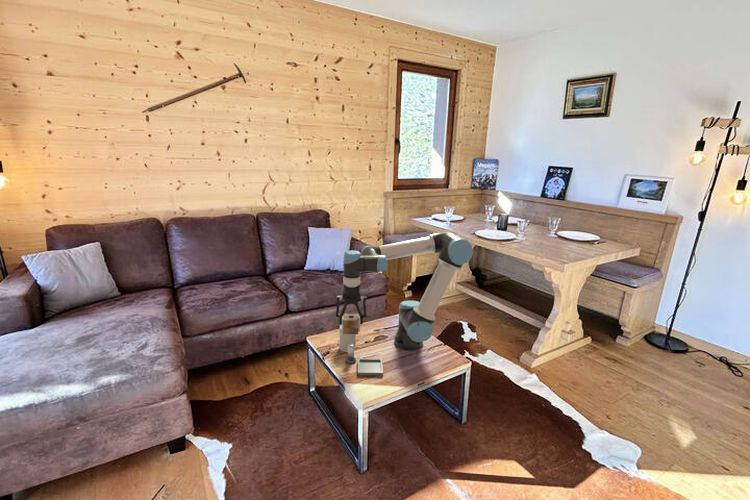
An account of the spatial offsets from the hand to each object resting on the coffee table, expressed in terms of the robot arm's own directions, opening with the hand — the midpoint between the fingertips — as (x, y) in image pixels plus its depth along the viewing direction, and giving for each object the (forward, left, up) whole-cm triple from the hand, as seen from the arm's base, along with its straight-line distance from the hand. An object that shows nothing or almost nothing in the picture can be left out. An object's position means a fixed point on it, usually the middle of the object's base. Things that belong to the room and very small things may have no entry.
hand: (351, 330), depth 177 cm
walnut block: (0, 0, 0) cm, 0 cm away
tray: (-9, +6, -17) cm, 20 cm away
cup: (+2, -12, -17) cm, 21 cm away
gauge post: (0, 0, -17) cm, 17 cm away
